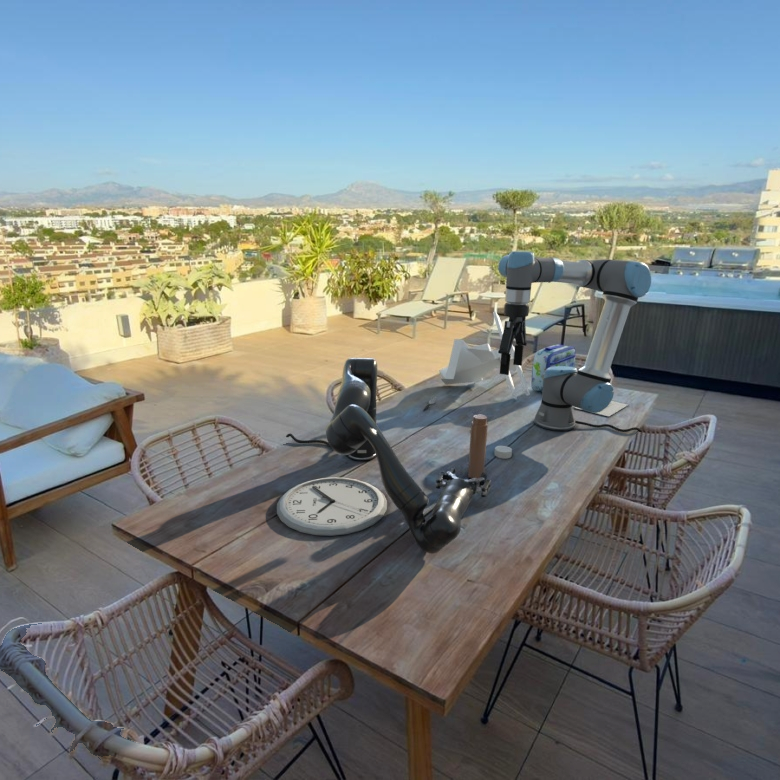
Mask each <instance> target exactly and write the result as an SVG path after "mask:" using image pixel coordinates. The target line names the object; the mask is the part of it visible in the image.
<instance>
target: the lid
mask: <svg viewBox="0 0 780 780" xmlns="http://www.w3.org/2000/svg"><path fill="white" fill-rule="evenodd" d="M493 453H494V454H493V455H494V456H495V457H496V458H498V459H504V460H505V459H506V460H507V459H510V458H512V456H513V449H512V448H511V447H509V446H507V445H497V446H495V447H494V452H493Z"/></svg>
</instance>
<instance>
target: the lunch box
mask: <svg viewBox="0 0 780 780" xmlns="http://www.w3.org/2000/svg"><path fill="white" fill-rule="evenodd" d="M576 357H577V355H576V347H575V346H569V345H565V344H554V345H550V346H547V347H544V348H542V349H541V348H540V349H539V350H537V351H536V352H535V353H534V356H533V360H532V367H531V368H532V369H531V382H530V383H531V386H530V387H531V389H532V390H533V391H537V392H542V390H543V379H544V374H545V370H546V369H547V368H549V367H555V366H569V367H575V364H576Z"/></svg>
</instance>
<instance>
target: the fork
mask: <svg viewBox="0 0 780 780" xmlns="http://www.w3.org/2000/svg"><path fill="white" fill-rule="evenodd" d="M436 400H437V397H436V396H432V395H431V396H430V399H429V401H428V404H426V405H425V407H424V409H423V411H422V412H424V411H426V410H428V408H429V407H430V406H431V405H433V404H435V403H436Z"/></svg>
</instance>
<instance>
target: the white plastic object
mask: <svg viewBox="0 0 780 780" xmlns="http://www.w3.org/2000/svg"><path fill="white" fill-rule="evenodd" d="M492 315H493V319H494V321H495V324H496V325H495V326H496V328H497V332H498V335H499V338H500V341H501V340H502V335H503V331H504V326H503V325H502V321H501V318H500V315H499V314H498V312H497V311H496V310H495V311H492ZM499 349H500V348H498V349H496V350H495V349H493V348H492V347H491V346H490V344H489V343H488V342H487V343H483V344H479V345H473V346H469V345H468V343H466V342H465V340H464V339H463V338H460V339H458V338H454V340H453V344H452V349H451V353H450V357H449V362H448V366H446V367H444V368H442V369H440V370H439V371H438V372H439V376H440V381H442V383H443V384H444V385H445V386H449V385H458V384H467V383H468V384H469V383H473V384H477V383H480V382H482V381H484V378H485V377H486V376H487V375H489V374H490V373H492V372H494V371H495V370H496V369H497V368H500V363H501V354H500V353H498V351H499ZM514 351H515V345H513V344H512V347H511V350H510V353H509V354H511V356H510V361H511V360H513V361H514ZM514 366H515V369H516V372H517V376H518V380H519V382H520V385H521V389H522V391H523V393H524V395H525V396H526V397H528V396H531V395H530V390H529V388H528V387H529V386H528V384H527V381H526V378H525V375H524V371H523V369H522V368H523V367H522V366H519V365H514ZM504 376H505V380H506V383H507V386H508V390H509V393H510V394H511V395H512V397H513V398H514V399H515V400H517V392H516V391H517V390H516V388H515V385H514V381H513V378H512V375H511V371H510V370H509V375H504Z"/></svg>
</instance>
